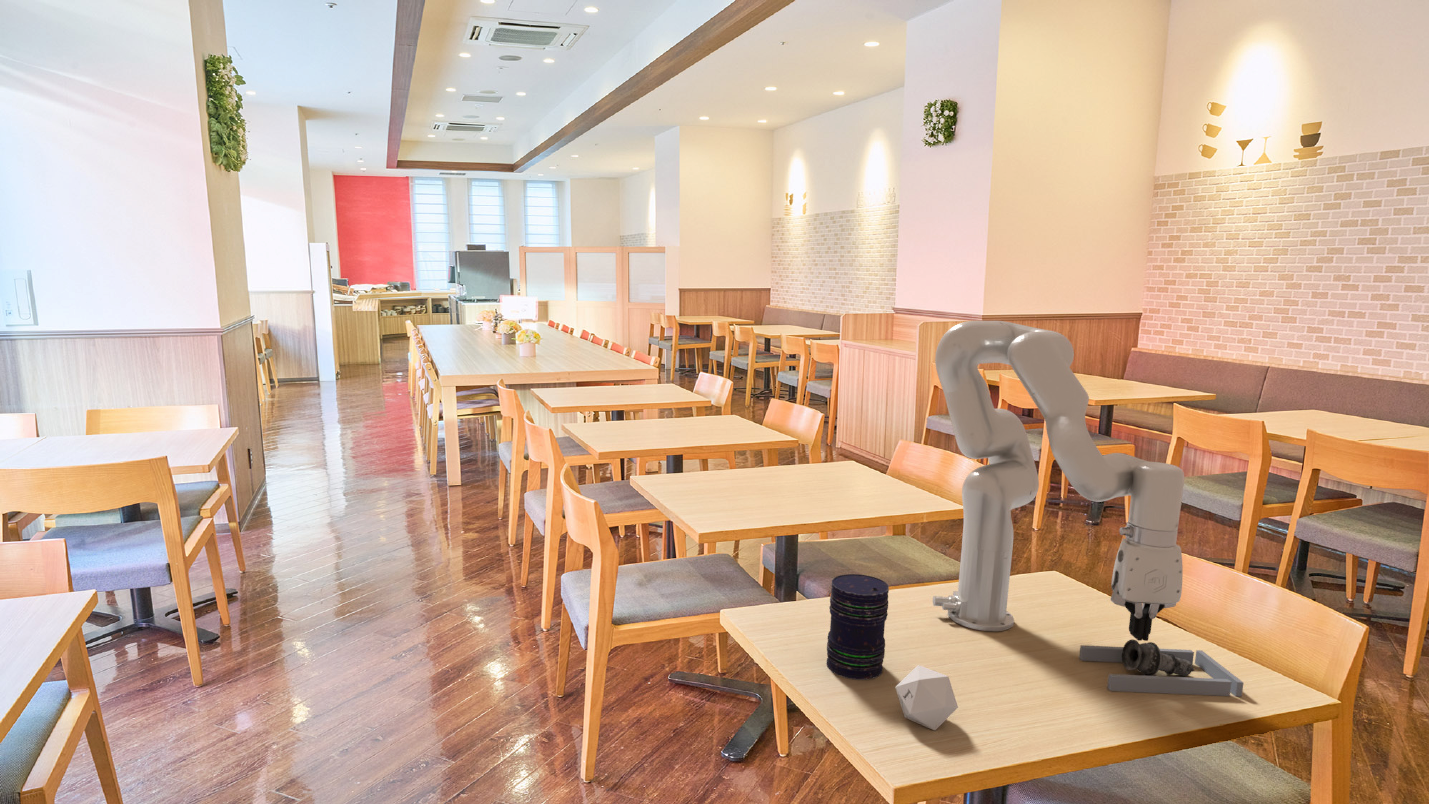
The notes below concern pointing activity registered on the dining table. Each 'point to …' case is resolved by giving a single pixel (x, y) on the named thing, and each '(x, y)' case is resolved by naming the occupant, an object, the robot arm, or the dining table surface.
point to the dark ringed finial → (1152, 660)
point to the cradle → (1173, 685)
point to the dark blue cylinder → (857, 626)
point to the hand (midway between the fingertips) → (1138, 637)
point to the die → (926, 697)
